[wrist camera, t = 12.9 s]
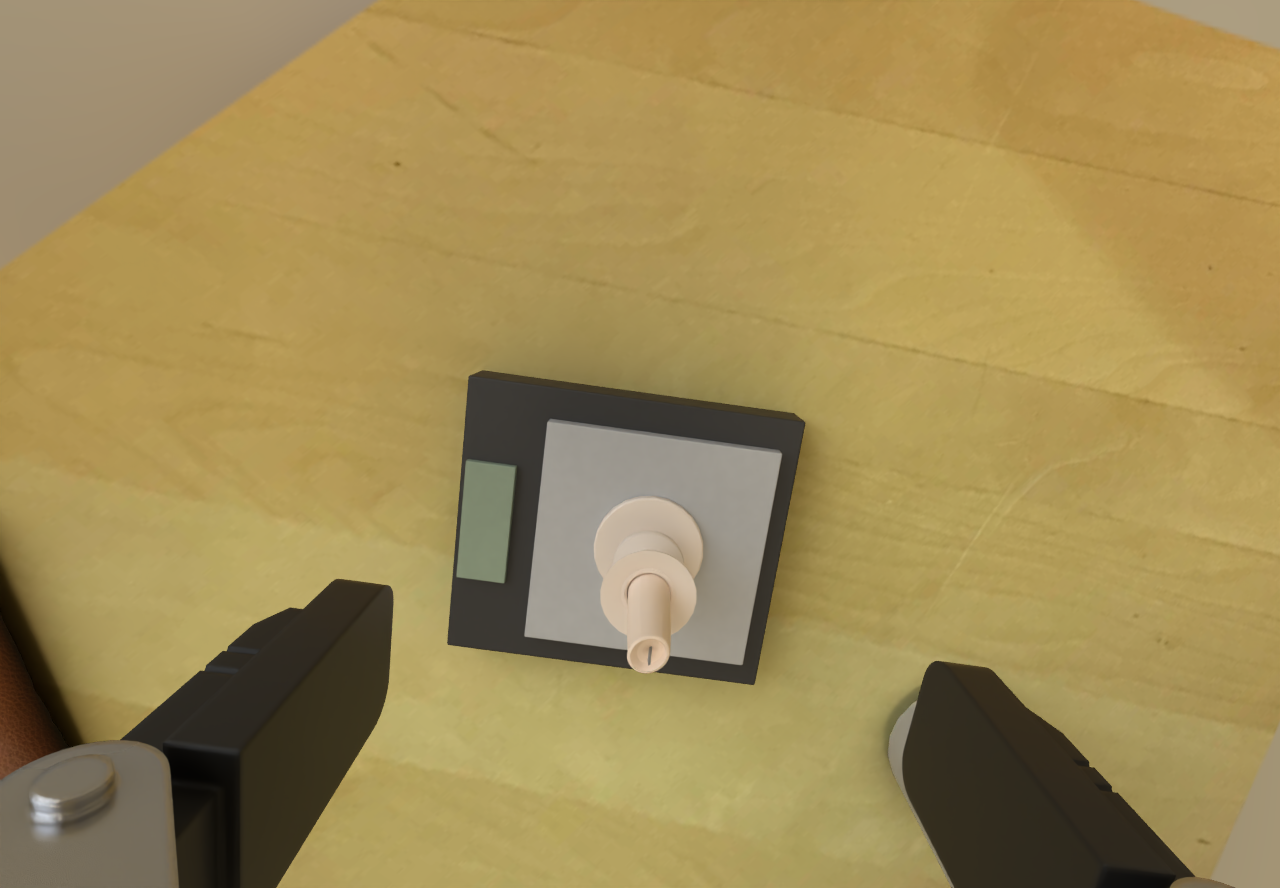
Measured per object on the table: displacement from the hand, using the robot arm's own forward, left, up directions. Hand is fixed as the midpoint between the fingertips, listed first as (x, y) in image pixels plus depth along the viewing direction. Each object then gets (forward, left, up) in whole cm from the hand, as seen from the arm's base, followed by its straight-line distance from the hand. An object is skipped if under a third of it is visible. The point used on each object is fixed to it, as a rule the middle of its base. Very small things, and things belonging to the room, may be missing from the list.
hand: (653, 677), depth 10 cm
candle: (+1, -6, -21) cm, 22 cm away
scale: (-1, -6, -24) cm, 25 cm away
